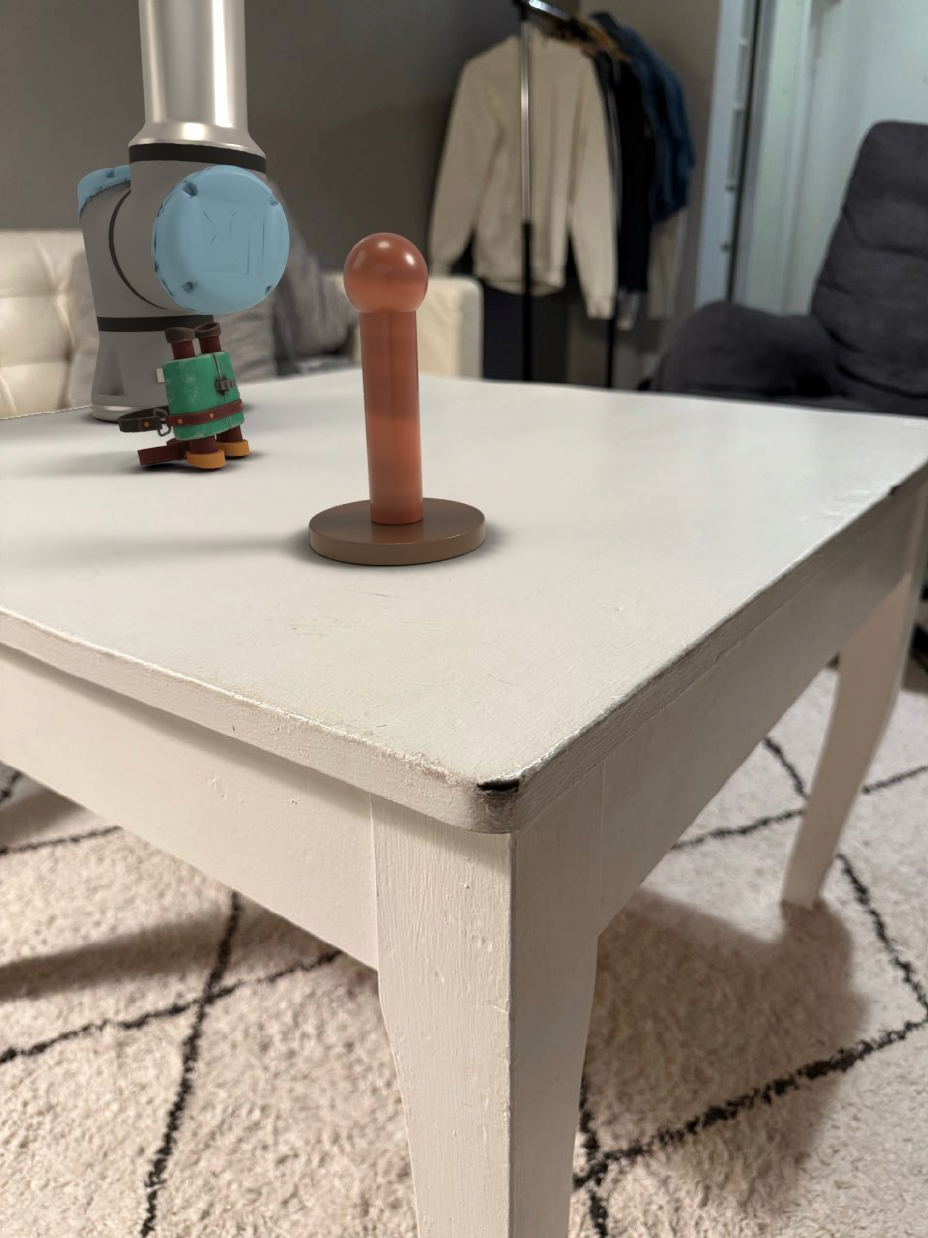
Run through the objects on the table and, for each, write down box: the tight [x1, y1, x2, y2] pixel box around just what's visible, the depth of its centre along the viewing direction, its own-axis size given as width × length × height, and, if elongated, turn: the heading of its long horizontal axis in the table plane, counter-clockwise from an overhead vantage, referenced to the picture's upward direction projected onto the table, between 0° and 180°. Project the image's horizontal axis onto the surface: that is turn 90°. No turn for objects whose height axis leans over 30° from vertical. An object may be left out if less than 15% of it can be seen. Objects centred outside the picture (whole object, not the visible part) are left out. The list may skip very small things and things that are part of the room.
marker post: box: [308, 231, 486, 566], centre depth 49 cm, size 10×10×16 cm
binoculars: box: [117, 321, 251, 469], centre depth 72 cm, size 9×11×10 cm
